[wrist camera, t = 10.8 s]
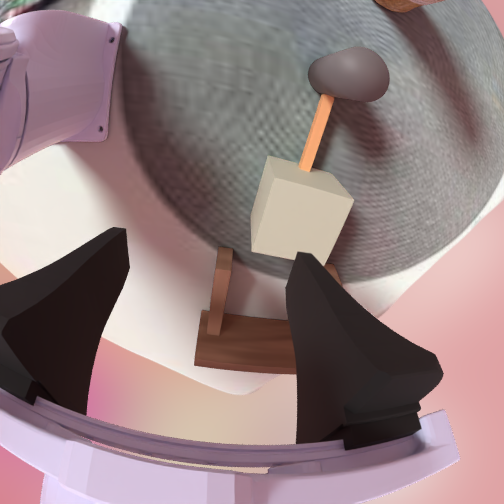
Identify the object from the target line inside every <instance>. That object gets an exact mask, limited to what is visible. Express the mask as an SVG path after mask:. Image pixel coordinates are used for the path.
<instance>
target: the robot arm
mask: <svg viewBox="0 0 504 504" xmlns="http://www.w3.org/2000/svg"><path fill="white" fill-rule="evenodd" d="M121 31H122V24H120V23H118V22H114V23H106V22H103V21H100V20H97V19H94V18H91V17H87V16H84V15H80V14H77V13H73V12H69V11H63V10H42V11H34V12H29V13H25V14H21V15H18V16H15V17H13V18H10V19H8V20H6V21H4V22H2V23H1V24H0V175H1V173H2V172H3V171H4V170H6V169H7V168H9V167H11V166H12V165H14V164H16V163H18V162H20V161H21V160H23V159H25V158H27V157H29V156H31V155H33V154H34V153H36V152H38V151H40V150H42V149H44V148H47V147H49V146H51V145H53V144H55V143H57V142H69V141H80V142H102V141H104V140H106V138H107V136H108V121H109V108H110V98H111V89H112V81H113V74H114V67H115V61H116V55H117V50H118V45H119V40H120V35H121ZM112 38H115V40H114V42H113V43H111V39H112ZM100 126H102V127H103V131H101V130H100ZM129 269H130V264H129V256H128V246H127V235H126V229H125V228H117V227H112V228H110V229H108V230H107V231H105V232H103V233H101V234H100V235H98V236H96V237H95V238H93V239H92V240H90V241H88V242H87V243H85V244H84V245H82V246H81V247H79V248H77V249H76V250H74V251H72V252H71V253H69V254H67V255H66V256H64V257H62V258H61V259H59V260H57V261H55V262H54V263H52V264H50V265H48V266H46V267H44V268H42V269H40V270H38V271H36V272H33V273H31V274H29V275H26V276H24V277H22V278H19V279H17V280H14V281H11V282H8V283H5V284H2V285H0V445H1V446H2V447H4V448H5V449H7V450H8V451H10V452H11V453H12V454H14V455H16V456H17V457H19V458H20V459H22V460H23V461H25V462H26V463H28V464H30V465H31V466H33V467H35V468H36V469H38V470H40V471H42V472H43V473H45V475H44V480H43V486H42V493H41V499H40V504H360V503H363V502H367V501H370V500H373V499H376V498H379V497H382V496H384V495H387V494H390V493H392V492H395V491H397V490H400V489H402V488H405V487H407V486H409V485H412V484H414V483H416V482H418V481H420V480H423V479H425V478H427V477H429V476H431V475H433V474H435V473H437V472H439V471H441V470H443V469H444V468H446V467H448V466H450V465H452V464H454V463H456V462H457V461H459V460H460V456H459V452H458V449H457V445H456V442H455V439H454V436H453V432H452V429H451V426H450V423H449V420H448V417H447V414H446V411H445V410H444V409H442V410H439V411H436V412H433V413H430V414H427V415H424V416H423V417H420V418H418V415H417V412H418V411H420V409H421V407H420V404H419V401H420V400H421V399H422V398H424V397H425V396H426V395H427V394H428V393H429V392H431V391H432V390H433V389H434V388H435V387H436V386H437V385H438V384H439V382H440V381H441V380H442V377H443V374H444V373H443V371H442V368H441V366H440V364H439V361H438V359H437V357H436V355H435V354H433V353H432V352H430V351H428V350H425V349H424V348H422V347H420V346H417V345H416V344H414V343H412V342H410V341H409V340H407V339H405V338H404V337H402V336H400V335H399V334H397V333H396V332H394V331H393V330H391V329H390V328H389V327H387V326H386V325H384V324H383V323H382V322H380V321H379V320H378V319H376V318H375V317H374V316H373V315H371V314H370V313H369V312H368V311H367V310H366V309H364V308H363V307H362V306H361V305H360V304H359V303H358V302H357V301H356V300H355V299H354V298H353V297H352V296H351V295H350V294H349V293H348V292H346V291H345V289H344V288H343V287H342V286H341V285H340V284H339V283H338V282H337V281H336V280H335V279H334V278H333V276H332V275H331V274H330V273H329V272H328V271H327V270H326V269H325V267H324V266H323V265H322V264H321V263H320V262H319V261H318V260H317V259H316V257H315V256H314V255H313V254H312V253H306V252H298V251H297V255H296V258H295V261H294V264H293V267H292V270H291V273H290V276H289V279H288V282H287V285H286V288H285V289H286V308H287V314H288V320H289V325H290V330H291V336H292V341H293V346H294V352H295V359H296V374H297V432H296V444H291V445H238V444H221V443H210V442H209V443H208V442H200V441H192V440H185V439H178V438H172V437H165V436H161V435H155V434H150V433H146V432H141V431H137V430H132V429H129V428H125V427H120V426H117V425H114V424H110V423H107V422H104V421H100V420H97V419H94V418H91V417H88V416H86V414H87V413H86V412H87V401H88V392H89V386H90V380H91V375H92V369H93V365H94V361H95V356H96V352H97V349H98V345H99V342H100V338H101V335H102V332H103V330H104V327H105V325H106V323H107V320H108V318H109V316H110V314H111V312H112V310H113V308H114V305H115V303H116V301H117V299H118V297H119V295H120V293H121V291H122V289H123V286H124V284H125V281H126V278H127V275H128V272H129ZM81 436H82V437H81ZM83 437H84V438H83ZM85 438H87V439H85ZM88 439H90V440H93V441H96V442H99V443H102V444H105V445H108V446H112V447H115V448H119V449H122V450H126V451H130V452H134V453H138V454H143V455H147V456H151V457H156V458H161V459H167V460H173V461H179V462H186V463H194V464H203V465H213V466H228V467H270V468H269V469H268V473H266V474H257V473H256V474H255V473H243V472H237V471H231V470H221V469H211V468H203V467H194V466H186V465H179V464H173V463H167V462H161V461H156V460H151V459H146V458H142V457H137V456H134V455H130V454H126V453H122V452H119V451H115V450H112V449H108V448H105V447H102V446H99V445H96V444H93V443H92V442H91V441H90V440H88Z"/></svg>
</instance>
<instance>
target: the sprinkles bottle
mask: <svg viewBox="0 0 504 504" xmlns="http://www.w3.org/2000/svg"><path fill="white" fill-rule="evenodd" d="M375 1H376V2H377V3H379V4H380V5H382V6H384V7H385V8H387V9H389V10H391V11H394V12H407V11H410V10H412V9H413V8H415V7H419V6H422V5H428V4H433V3H436V2H440V1H444V0H375Z"/></svg>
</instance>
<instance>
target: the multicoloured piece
mask: <svg viewBox="0 0 504 504" xmlns="http://www.w3.org/2000/svg"><path fill="white" fill-rule="evenodd" d="M308 78H309V82H310V84H311V86H312V87H313V88H314V89H315V90H316V91H317V92H318V93H320V94H322V95H321V98H320V101H319V104H318V108H317V111H316V114H315V117H314V120H313V123H312V126H311V129H310V132H309V135H308V139H307V142H306V145H305V148H304V151H303V154H302V157H301V160H300V163H299V164H298V163H295V162H291V161H287V160H284V159H280V158H276V157H272V156H268V157H267V160H266V163H265V167H264V170H263V174H262V177H261V181H260V184H259V188H258V191H257V195H256V198H255V202H254V205H253V209H252V212H251V242H252V252H256V253H261V254H266V255H271V256H276V257H281V258H286V259H291V260H295V258H296V255H297V251H298V252H306V253H312V254H313V255H314V256H315V257H316V259H317V260H318V261H319V262H320V263H321V264H322V265H323V266H324V265H325V263H326V261H327V259H328V257H329V255H330V253H331V251H332V249H333V246H334V244H335V242H336V240H337V238H338V236H339V234H340V231H341V229H342V227H343V225H344V223H345V220H346V218H347V216H348V214H349V211H350V209H351V207H352V205H353V202H354V199H353V198H352V197H351V196H350V194H349V193H348V192H347V191H346V190H345V189H344V187H343V186H342V185H341V184H340V183H339V182H338V180H337V179H336V178H335V177H334V176H333V175H332V174H331V173H328V172H325V171H322V170H318V169H315V168H312V164H313V161H314V158H315V155H316V152H317V149H318V147H319V144H320V141H321V138H322V135H323V132H324V129H325V126H326V123H327V120H328V117H329V114H330V111H331V108H332V104H333V101H334V97H337V98H344V99H350V100H356V101H361V102H372V101H375V100H377V99H379V98H381V97H382V96H383V95H384V94H385V92H386V91H387V89H388V86H389V71H388V68H387V66H386V64H385V62H384V61H383V59H382V58H381V57H380V56H379V55H378V54H377V53H375V52H374V51H372V50H370V49H368V48H364V47H352V48H348V49H345V50H342V51H339V52H336V53H333V54H330V55H327V56H324V57H322V58H319V59H317V60H315V61H314V62H313V63H312V64H311V66H310V68H309V71H308Z"/></svg>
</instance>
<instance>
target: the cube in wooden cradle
mask: <svg viewBox="0 0 504 504" xmlns="http://www.w3.org/2000/svg"><path fill="white" fill-rule="evenodd" d="M232 255H233V249H231V248H224V247H219V249H218V255H217V262H216V268H215V275H214V282H213V289H212V296H211V303H210V311H203V310H202V311H201V318H200V324H199V331H198V338H197V345H196V352H195V361H194V366H201V367H208V368H216V369H224V370H234V371H244V372H257V373H272V374H296V359H295V352H294V346H293V341H292V336H291V330H290V325H289V321H285V320H275V319H265V318H256V317H248V316H240V315H232V314H224V307H225V302H226V297H227V292H228V286H229V281H230V276H231V271H232ZM324 267H325V269H326V270H327V271H328V272H329V273H330V274H331V275H332V276H333V278H334V279H335V280H336V281H337V282H338V283H339V284H340V285H341V286H342V284H341V281H340V279H339V276H338V274H337V271H336V269H335V267H334V264H328V263H325V265H324Z"/></svg>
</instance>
